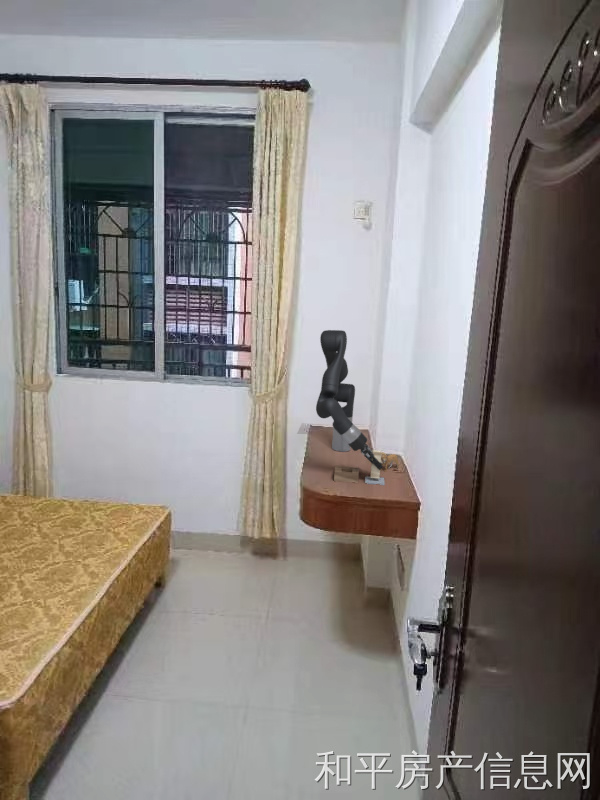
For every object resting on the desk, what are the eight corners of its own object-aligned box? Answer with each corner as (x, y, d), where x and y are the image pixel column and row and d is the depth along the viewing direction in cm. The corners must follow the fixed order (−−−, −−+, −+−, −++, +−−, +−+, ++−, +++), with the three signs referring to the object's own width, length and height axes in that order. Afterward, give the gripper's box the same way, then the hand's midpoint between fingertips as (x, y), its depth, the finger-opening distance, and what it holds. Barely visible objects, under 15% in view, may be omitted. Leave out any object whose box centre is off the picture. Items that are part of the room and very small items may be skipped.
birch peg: (370, 475, 252) (372, 450, 250) (379, 475, 252) (381, 450, 249) (370, 477, 248) (372, 452, 246) (379, 478, 248) (381, 453, 246)
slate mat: (365, 477, 255) (365, 476, 255) (383, 479, 254) (384, 477, 254) (365, 483, 247) (365, 482, 247) (384, 485, 246) (384, 483, 246)
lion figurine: (383, 474, 261) (385, 454, 259) (373, 471, 264) (375, 451, 262) (401, 467, 271) (403, 448, 270) (392, 465, 275) (393, 446, 273)
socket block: (335, 473, 258) (335, 465, 257) (358, 475, 257) (358, 467, 256) (333, 480, 248) (334, 472, 247) (357, 482, 247) (358, 474, 246)
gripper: (362, 435, 239) (389, 465, 242) (358, 427, 253) (385, 456, 256) (348, 447, 240) (375, 477, 243) (345, 438, 254) (371, 467, 257)
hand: (380, 466), depth 249 cm, fingers closed on birch peg, 4 cm apart
